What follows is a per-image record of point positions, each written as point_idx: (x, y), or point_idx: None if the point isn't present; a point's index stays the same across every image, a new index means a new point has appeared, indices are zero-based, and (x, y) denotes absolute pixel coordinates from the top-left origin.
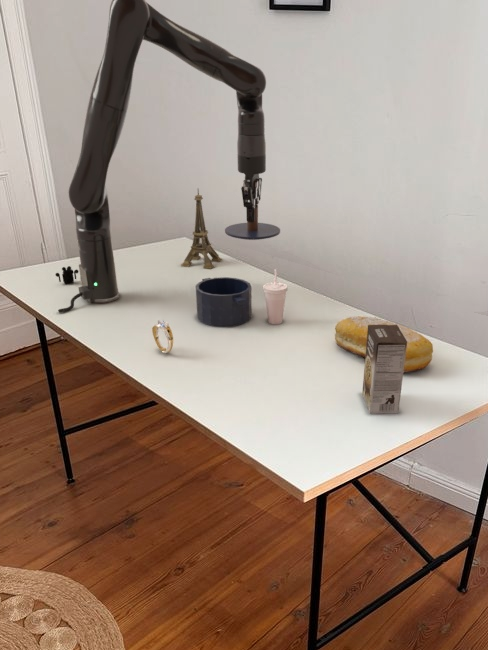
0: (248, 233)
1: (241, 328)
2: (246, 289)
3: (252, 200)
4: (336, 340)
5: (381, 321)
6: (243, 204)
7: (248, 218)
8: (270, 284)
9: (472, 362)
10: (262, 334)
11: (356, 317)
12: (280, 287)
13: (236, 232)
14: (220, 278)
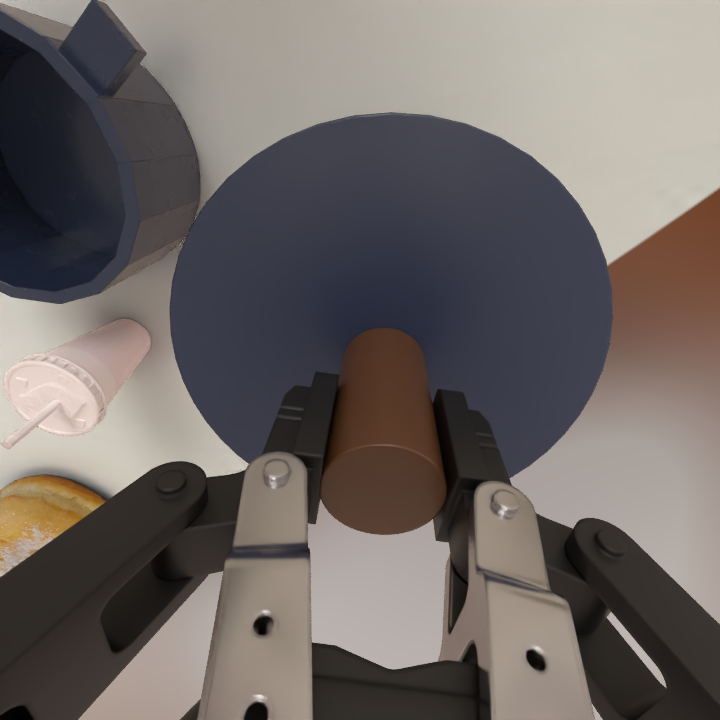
0: (271, 344)
1: None
2: (14, 288)
3: (139, 623)
4: (16, 482)
5: None
6: (154, 479)
7: (284, 403)
8: (61, 384)
9: None
10: (20, 309)
11: None
12: (50, 416)
13: (277, 249)
14: (102, 133)
